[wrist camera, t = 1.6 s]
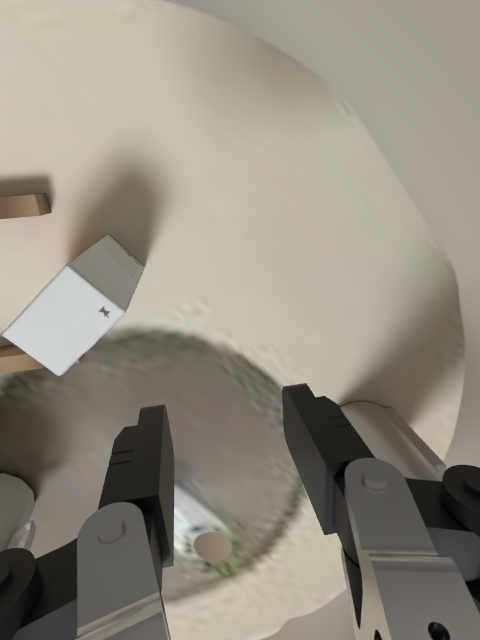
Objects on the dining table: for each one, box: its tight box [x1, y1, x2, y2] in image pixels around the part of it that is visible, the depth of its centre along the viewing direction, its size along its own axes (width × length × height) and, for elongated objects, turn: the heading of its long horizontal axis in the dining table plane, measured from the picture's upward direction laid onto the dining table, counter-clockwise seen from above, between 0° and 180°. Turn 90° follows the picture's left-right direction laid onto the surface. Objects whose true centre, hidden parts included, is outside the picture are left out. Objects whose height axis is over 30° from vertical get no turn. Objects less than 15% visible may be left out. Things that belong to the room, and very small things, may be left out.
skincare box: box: [2, 235, 144, 376], centre depth 27 cm, size 6×4×12 cm
